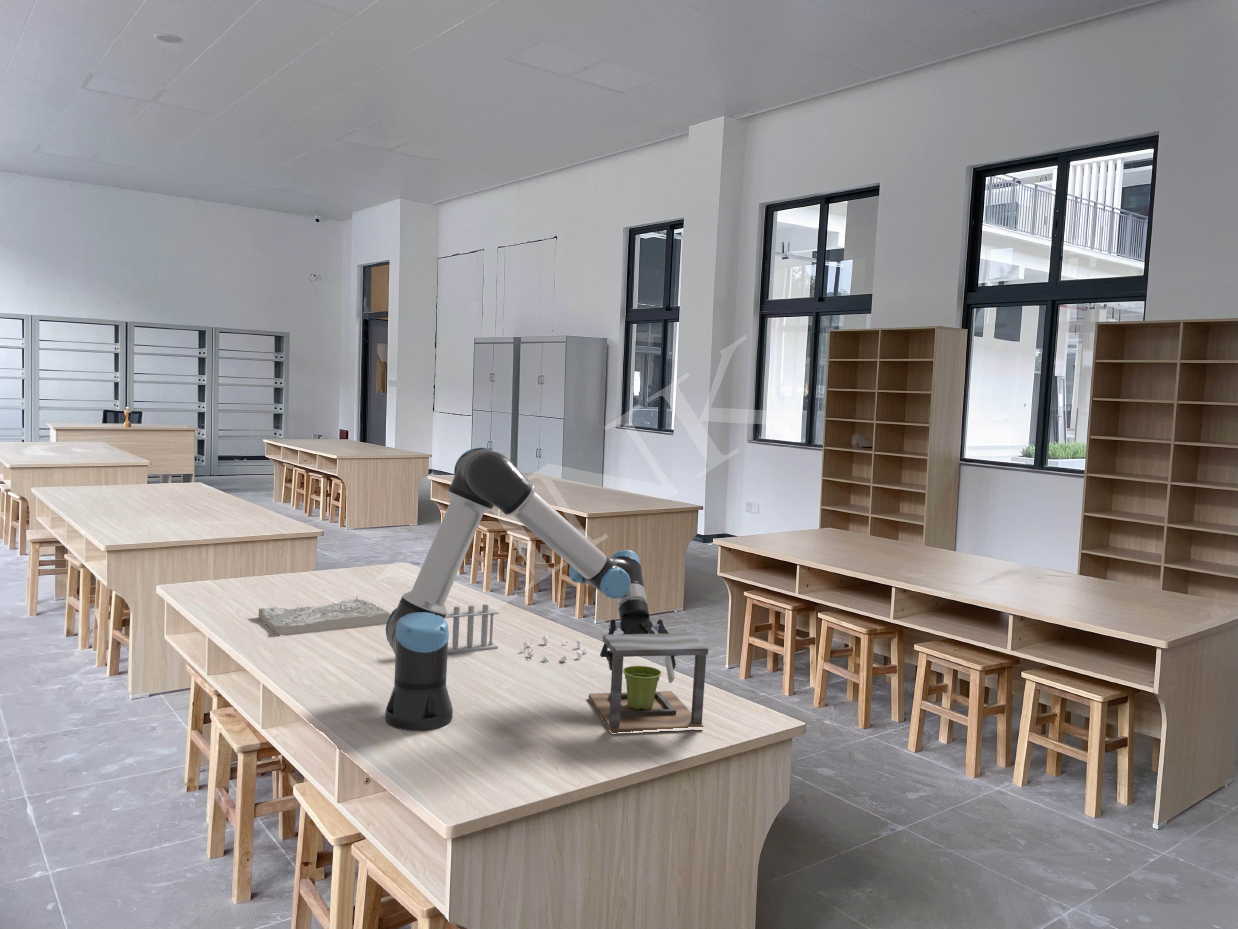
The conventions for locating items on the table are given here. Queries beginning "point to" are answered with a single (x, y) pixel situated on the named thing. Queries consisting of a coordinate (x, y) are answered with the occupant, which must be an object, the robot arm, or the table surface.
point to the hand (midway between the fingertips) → (645, 681)
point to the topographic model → (324, 617)
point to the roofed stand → (666, 703)
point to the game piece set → (545, 658)
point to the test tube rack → (471, 614)
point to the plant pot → (641, 686)
